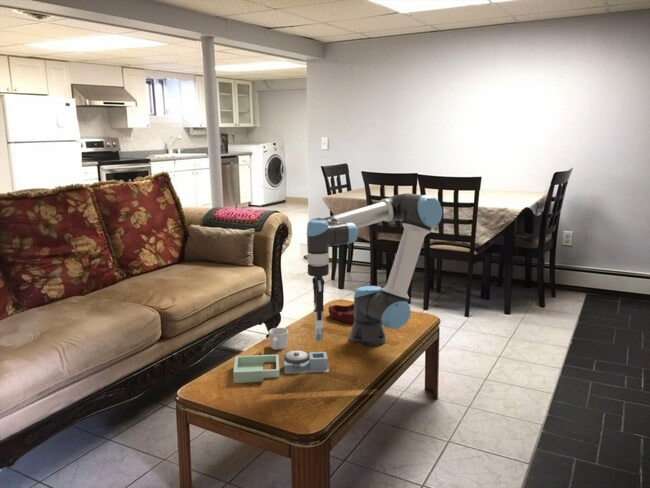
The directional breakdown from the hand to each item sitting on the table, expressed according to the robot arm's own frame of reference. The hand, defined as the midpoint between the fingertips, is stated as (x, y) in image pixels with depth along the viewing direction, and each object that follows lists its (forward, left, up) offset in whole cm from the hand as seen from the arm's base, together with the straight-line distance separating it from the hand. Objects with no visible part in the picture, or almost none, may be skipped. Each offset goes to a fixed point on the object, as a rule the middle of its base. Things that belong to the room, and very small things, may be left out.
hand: (318, 326), depth 196 cm
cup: (+15, -19, -17) cm, 29 cm away
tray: (+23, +1, -17) cm, 28 cm away
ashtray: (-19, -54, -17) cm, 60 cm away
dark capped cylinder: (0, 0, -5) cm, 5 cm away
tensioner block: (+5, 0, -17) cm, 18 cm away
